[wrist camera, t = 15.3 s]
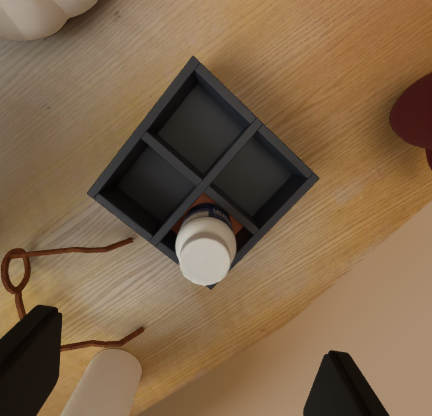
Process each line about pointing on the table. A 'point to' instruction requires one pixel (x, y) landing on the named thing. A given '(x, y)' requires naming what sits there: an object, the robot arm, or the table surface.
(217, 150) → the divided storage tray
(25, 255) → the glasses
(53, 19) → the white animal figurine
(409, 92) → the mug
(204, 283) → the pill bottle
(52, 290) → the table surface
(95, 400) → the cylindrical container
